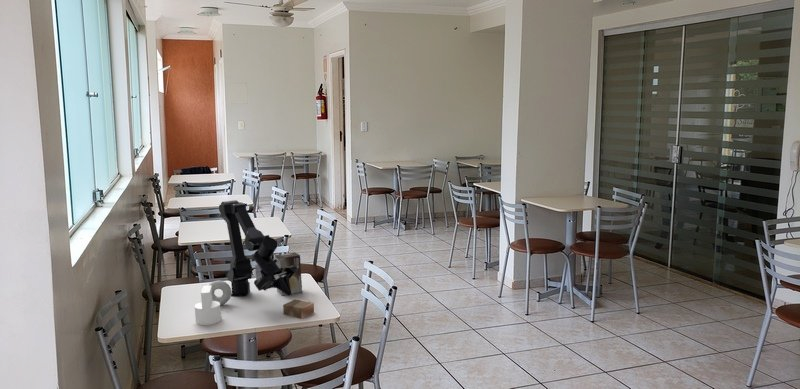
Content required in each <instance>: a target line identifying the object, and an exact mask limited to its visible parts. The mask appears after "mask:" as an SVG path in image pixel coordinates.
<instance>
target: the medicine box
mask: <svg viewBox="0 0 800 389" xmlns="http://www.w3.org/2000/svg"><path fill="white" fill-rule="evenodd" d="M254 267H255V280H257V279H259V278H261V277H262V274H261V273H260V271H261V268H260V267H259V265H258V264H257V263H256V264H255V266H254Z"/></svg>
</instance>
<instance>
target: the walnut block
mask: <svg viewBox="0 0 800 389" xmlns="http://www.w3.org/2000/svg"><path fill="white" fill-rule="evenodd" d="M282 309H283V315H284V316H290V317H294V318H299V319H305V318H306V317H308V316H311V315H312V314H315V303H314V302H311V301H306V300H301V299H295V298H294V299H293V300H290V301H288V302H286V303H284V304H283V308H282Z"/></svg>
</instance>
